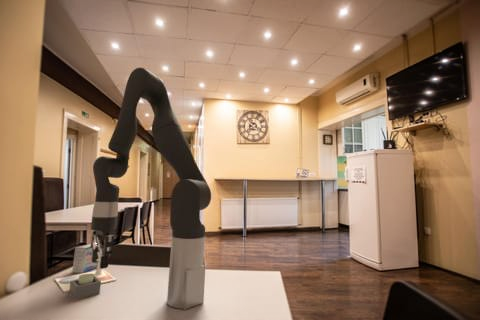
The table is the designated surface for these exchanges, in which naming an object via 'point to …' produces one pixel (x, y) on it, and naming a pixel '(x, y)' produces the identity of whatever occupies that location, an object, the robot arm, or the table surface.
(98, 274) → the chess piece
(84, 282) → the button
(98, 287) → the button box
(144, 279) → the table surface
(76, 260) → the medicine box
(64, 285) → the sheet
